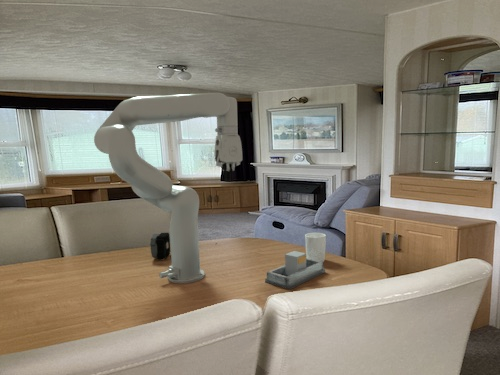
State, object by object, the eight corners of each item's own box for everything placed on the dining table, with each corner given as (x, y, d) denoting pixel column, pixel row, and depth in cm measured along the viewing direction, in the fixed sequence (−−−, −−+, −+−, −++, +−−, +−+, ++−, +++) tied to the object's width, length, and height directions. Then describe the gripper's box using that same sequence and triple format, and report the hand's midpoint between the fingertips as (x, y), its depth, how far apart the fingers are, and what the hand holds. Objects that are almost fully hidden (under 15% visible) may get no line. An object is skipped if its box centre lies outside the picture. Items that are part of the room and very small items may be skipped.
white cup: (325, 257, 142) (324, 232, 141) (327, 263, 134) (327, 237, 133) (304, 257, 143) (304, 232, 142) (305, 263, 135) (305, 237, 134)
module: (297, 277, 118) (297, 257, 117) (285, 274, 122) (285, 254, 121) (306, 273, 122) (306, 253, 121) (294, 270, 125) (294, 250, 124)
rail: (289, 289, 111) (289, 278, 111) (265, 281, 118) (264, 271, 118) (325, 272, 125) (325, 262, 125) (301, 266, 132) (301, 257, 132)
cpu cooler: (158, 254, 154) (156, 230, 153) (171, 253, 154) (170, 230, 153) (150, 261, 144) (149, 236, 143) (164, 261, 143) (163, 236, 142)
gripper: (217, 130, 125) (219, 183, 127) (249, 131, 135) (250, 180, 137) (204, 132, 130) (206, 182, 132) (236, 132, 141) (237, 179, 142)
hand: (228, 181), depth 135 cm, fingers closed
